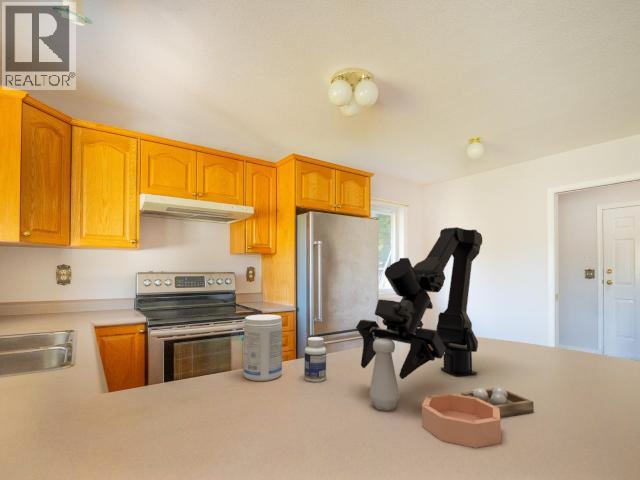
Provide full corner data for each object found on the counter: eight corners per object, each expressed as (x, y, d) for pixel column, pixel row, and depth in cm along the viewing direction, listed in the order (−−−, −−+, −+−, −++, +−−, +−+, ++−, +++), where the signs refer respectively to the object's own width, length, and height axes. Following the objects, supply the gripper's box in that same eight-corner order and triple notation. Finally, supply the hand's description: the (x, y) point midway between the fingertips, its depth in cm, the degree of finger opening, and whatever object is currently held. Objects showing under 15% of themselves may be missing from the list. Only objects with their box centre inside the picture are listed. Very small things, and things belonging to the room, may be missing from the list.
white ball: (499, 397, 70) (499, 384, 70) (511, 403, 67) (510, 388, 68) (489, 399, 69) (488, 385, 69) (500, 404, 67) (499, 390, 67)
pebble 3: (498, 404, 67) (498, 389, 67) (510, 410, 64) (510, 394, 64) (487, 406, 66) (487, 391, 66) (499, 411, 63) (498, 396, 63)
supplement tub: (277, 368, 91) (278, 313, 92) (286, 379, 82) (287, 318, 83) (240, 372, 88) (242, 314, 89) (245, 384, 79) (247, 320, 80)
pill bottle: (303, 375, 85) (304, 336, 86) (324, 375, 86) (325, 336, 87) (304, 382, 80) (305, 340, 81) (327, 382, 81) (327, 340, 81)
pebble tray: (499, 397, 72) (499, 387, 72) (533, 412, 64) (533, 401, 65) (461, 402, 69) (461, 392, 69) (492, 419, 61) (492, 408, 61)
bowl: (463, 409, 65) (463, 391, 66) (518, 439, 54) (517, 416, 54) (410, 417, 62) (410, 398, 62) (456, 451, 50) (456, 427, 51)
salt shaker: (397, 401, 69) (397, 336, 70) (401, 413, 63) (400, 342, 65) (368, 400, 70) (368, 336, 71) (370, 411, 64) (370, 342, 65)
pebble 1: (480, 399, 69) (480, 385, 69) (491, 404, 67) (491, 389, 67) (469, 400, 68) (469, 386, 69) (480, 406, 66) (480, 391, 66)
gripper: (361, 284, 78) (327, 338, 70) (436, 287, 65) (405, 356, 56) (381, 315, 83) (351, 370, 74) (456, 325, 69) (430, 393, 61)
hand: (380, 372), depth 66 cm, fingers open, 9 cm apart
